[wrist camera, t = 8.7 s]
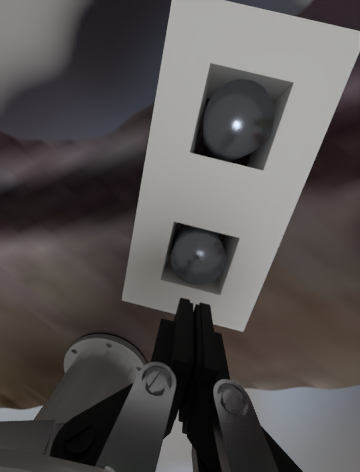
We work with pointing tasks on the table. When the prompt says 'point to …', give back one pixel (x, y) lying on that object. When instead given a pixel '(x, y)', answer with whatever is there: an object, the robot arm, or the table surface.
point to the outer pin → (237, 120)
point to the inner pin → (198, 255)
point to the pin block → (225, 173)
